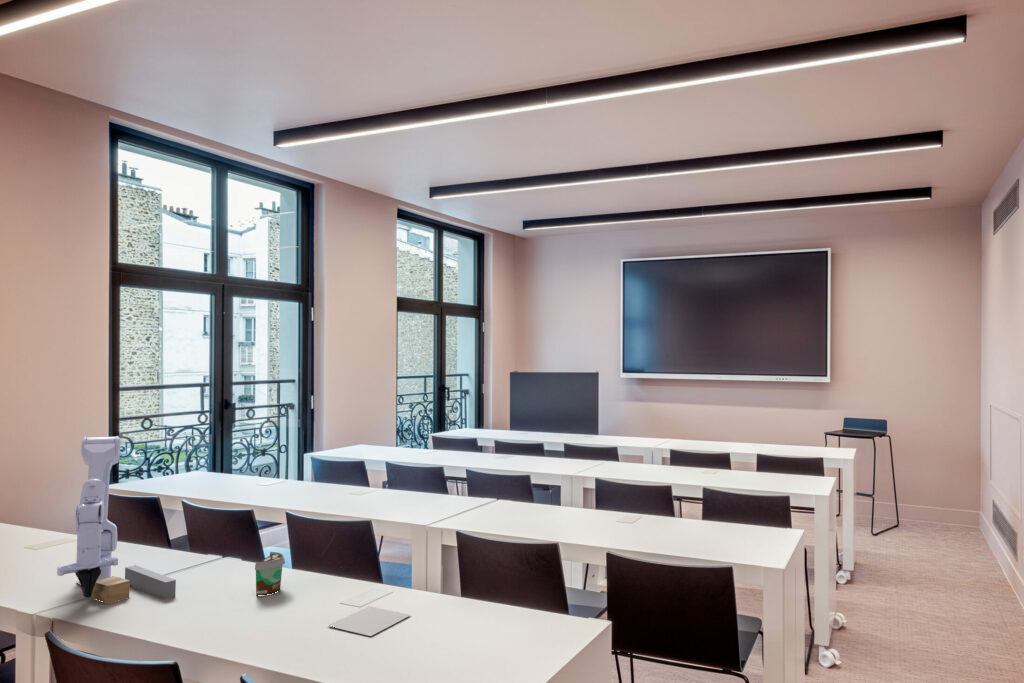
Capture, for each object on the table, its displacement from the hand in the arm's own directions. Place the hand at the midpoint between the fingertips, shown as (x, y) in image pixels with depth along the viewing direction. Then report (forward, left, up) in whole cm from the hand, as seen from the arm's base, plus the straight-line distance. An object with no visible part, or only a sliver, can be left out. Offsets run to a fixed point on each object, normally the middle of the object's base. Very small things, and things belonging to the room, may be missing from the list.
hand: (87, 596), depth 193 cm
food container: (+28, +40, -2) cm, 49 cm away
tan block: (0, +6, -2) cm, 6 cm away
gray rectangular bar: (0, +16, -2) cm, 17 cm away
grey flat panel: (+63, +47, -2) cm, 79 cm away
